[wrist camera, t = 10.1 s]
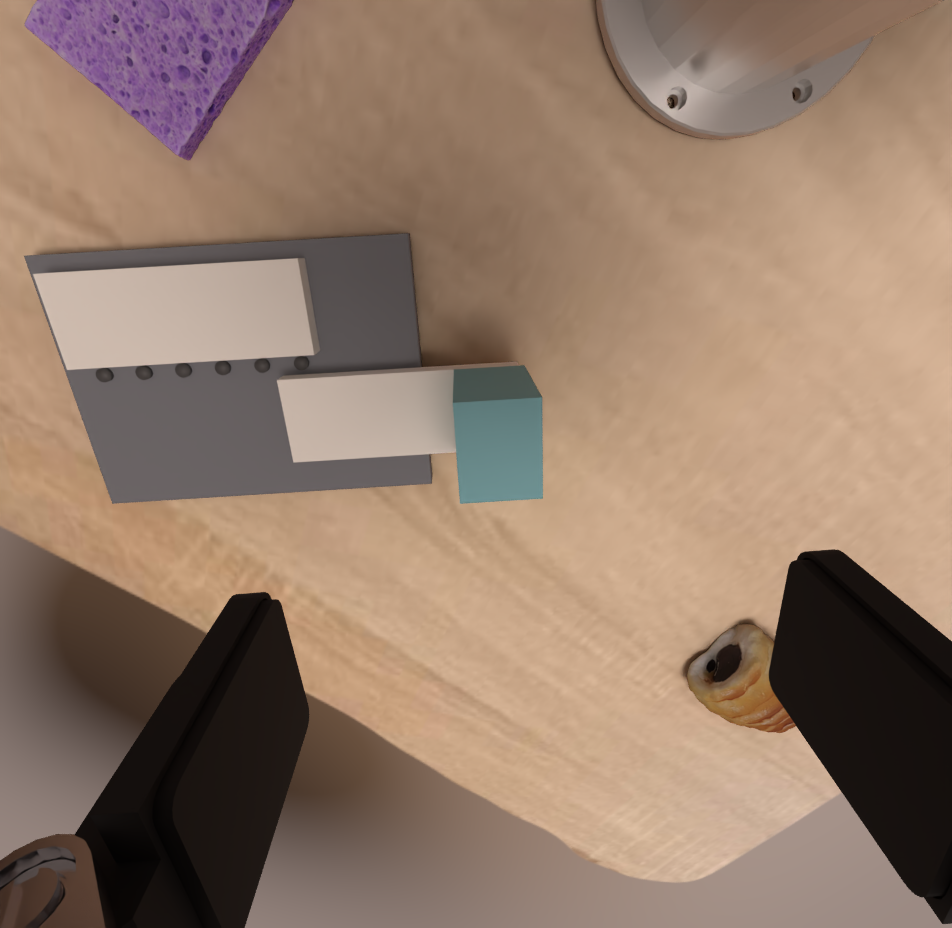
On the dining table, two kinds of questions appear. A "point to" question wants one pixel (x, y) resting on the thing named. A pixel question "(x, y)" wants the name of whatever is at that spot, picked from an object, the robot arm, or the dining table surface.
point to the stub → (425, 422)
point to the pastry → (739, 680)
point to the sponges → (161, 55)
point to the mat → (249, 379)
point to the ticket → (181, 315)
